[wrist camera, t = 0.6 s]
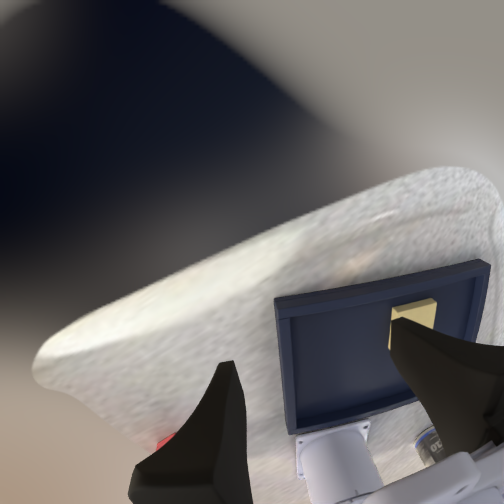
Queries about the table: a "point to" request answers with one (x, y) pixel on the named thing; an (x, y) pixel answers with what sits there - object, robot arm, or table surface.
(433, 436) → the pill bottle
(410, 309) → the beige square tile
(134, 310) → the table surface
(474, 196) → the table surface
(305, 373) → the tray
